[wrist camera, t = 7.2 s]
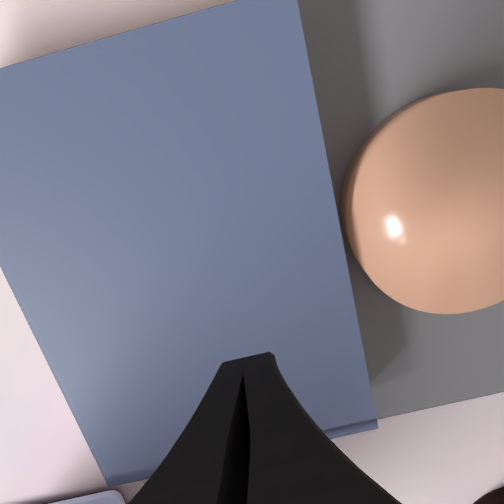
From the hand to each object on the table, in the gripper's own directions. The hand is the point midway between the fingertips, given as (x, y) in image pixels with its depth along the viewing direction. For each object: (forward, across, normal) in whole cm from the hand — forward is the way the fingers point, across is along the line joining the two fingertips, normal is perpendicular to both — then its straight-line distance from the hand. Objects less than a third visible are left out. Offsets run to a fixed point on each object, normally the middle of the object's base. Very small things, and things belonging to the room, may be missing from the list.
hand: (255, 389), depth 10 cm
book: (+9, +2, -1) cm, 9 cm away
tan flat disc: (+9, -9, -1) cm, 12 cm away
